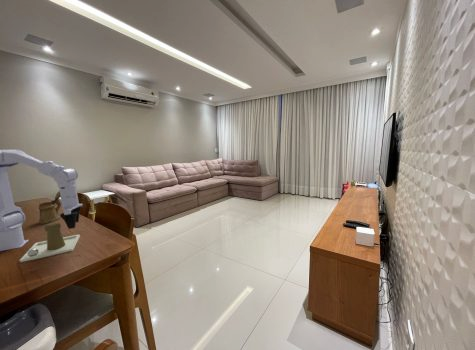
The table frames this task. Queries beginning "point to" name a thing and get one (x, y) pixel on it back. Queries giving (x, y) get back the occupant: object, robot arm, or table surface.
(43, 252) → the tray
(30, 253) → the mixing ball
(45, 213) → the wooden mug
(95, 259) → the table surface
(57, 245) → the cork
